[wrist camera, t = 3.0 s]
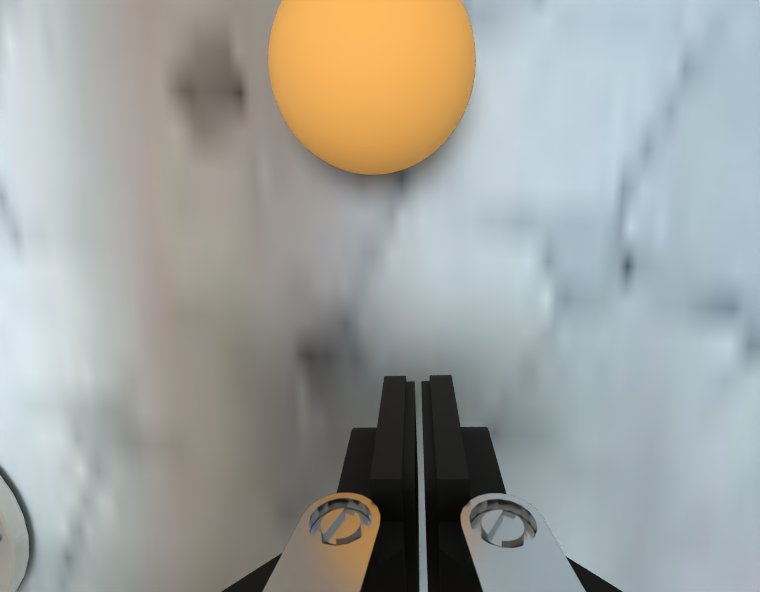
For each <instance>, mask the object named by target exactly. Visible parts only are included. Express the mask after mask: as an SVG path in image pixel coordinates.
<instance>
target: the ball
mask: <svg viewBox="0 0 760 592" xmlns="http://www.w3.org/2000/svg"><path fill="white" fill-rule="evenodd" d="M268 59H269V74H270V80H271V86H272V89H273V93H274V96H275V99H276V102H277V105H278V107H279V109H280V112H281V114H282V116H283V118H284V120H285V121H286V123H287V125H288V127H289V128H290V129H291V131H292V132H293V133H294V135H295V136H296V137H297V139H298V140H299V141H300V142H301V143H302V144H303V145H304V146H305V147H306V148H307V149H308V150H310V151H311V152H312V153H313V154H315V155H316V156H317V157H319V158H320V159H322V160H324V161H325V162H327V163H329V164H330V165H333V166H335V167H337V168H339V169H342V170H346V171H349V172H352V173H359V174H365V175H380V174H388V173H393V172H397V171H401V170H404V169H406V168H409V167H411V166H413V165H415V164H417V163H419V162H421V161H422V160H424V159H426V158H427V157H428V156H430V155H431V154H432V153H434V152H435V151H436V150H437V149H438V148H439V147H440V146H441V145H442V144H443V143H444V142H445V141H446V140H447V139H448V137H449V136H450V135H451V134H452V132H453V131H454V130H455V128H456V126H457V125H458V123H459V121H460V120H461V118H462V116H463V114H464V111H465V109H466V107H467V105H468V102H469V99H470V95H471V92H472V88H473V83H474V77H475V65H476V56H475V43H474V37H473V32H472V27H471V24H470V20H469V17H468V14H467V12H466V9H465V7H464V5H463V3H462V1H461V0H282V2H281V4H280V6H279V8H278V11H277V14H276V17H275V20H274V23H273V26H272V31H271V36H270V41H269V54H268Z"/></svg>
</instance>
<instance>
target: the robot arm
mask: <svg viewBox="0 0 760 592" xmlns="http://www.w3.org/2000/svg"><path fill="white" fill-rule="evenodd" d="M421 385H422V416H423V448H424V480H425V512H426V543H427V575H428V592H622V591H621V590H619V589H617V588H616V587H614V586H613V585H611V584H609V583H608V582H606V581H605V580H603V579H601V578H600V577H598V576H597V575H595V574H593V573H592V572H590V571H588V570H587V569H585V568H584V567H582V566H580V565H579V564H577V563H576V562H574V561H572V560H571V559H569V558H568V557H566V556H565V555H564V553H563V551H562V549H561V548H560V546H559V544H558V542H557V541H556V539H555V537H554V535H553V534H552V532H551V530H550V528H549V527H548V525H547V523H546V521H545V520H544V518H543V517H542V515H541V514H540V513H539V512H538V510H537V509H536V508H535V507H533V506H532V505H531V504H529V503H528V502H526V501H524V500H522V499H520V498H518V497H515V496H511V495H507V494H506V491H505V488H504V484H503V480H502V477H501V473H500V470H499V466H498V463H497V459H496V455H495V452H494V448H493V445H492V441H491V437H490V434H489V431H488V428H487V427H460V421H459V416H458V410H457V404H456V399H455V393H454V387H453V382H452V376H451V375H433V376H430V381H421ZM28 559H29V536H28V532H27V528H26V524H25V520H24V516H23V513H22V511H21V509H20V507H19V505H18V502H17V500H16V498H15V496H14V494H13V492H12V491H11V489H10V488H9V487H8V485H7V484H6V482H5V481H4V479H3V478H2V477H1V475H0V592H16V591H17V589H18V587H19V585H20V583H21V581H22V579H23V577H24V576H25V572H26V568H27V563H28ZM222 592H419V514H418V464H417V436H416V408H415V382H406V376H385V377H384V383H383V390H382V397H381V404H380V411H379V418H378V425H377V428H353V429H352V432H351V436H350V440H349V444H348V448H347V452H346V457H345V461H344V465H343V469H342V474H341V478H340V482H339V486H338V491H337V493H336V494H331V495H328V496H325V497H323V498H321V499H319V500H317V501H316V502H314V503H313V504H312V505H310V506H309V507H308V508H307V510H306V511H305V512H304V514H303V515H302V517H301V519H300V521H299V523H298V524H297V526H296V528H295V530H294V532H293V534H292V536H291V538H290V540H289V542H288V544H287V546H286V547H285V549H284V551H283V553H282V554H280V555H278V556H277V557H275V558H274V559H272V560H271V561H269V562H267V563H266V564H264V565H263V566H261V567H259V568H258V569H256V570H255V571H253V572H252V573H250V574H248V575H247V576H245V577H244V578H242V579H241V580H239V581H237V582H236V583H234V584H233V585H231V586H230V587H228V588H226V589H225V590H223V591H222Z"/></svg>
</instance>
